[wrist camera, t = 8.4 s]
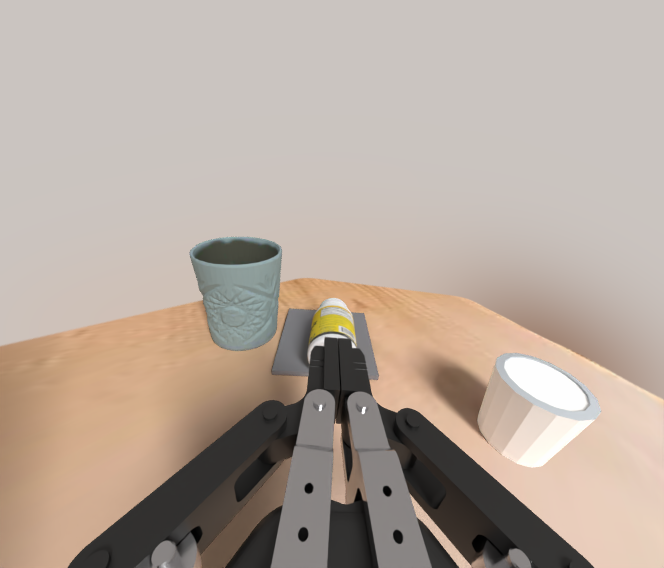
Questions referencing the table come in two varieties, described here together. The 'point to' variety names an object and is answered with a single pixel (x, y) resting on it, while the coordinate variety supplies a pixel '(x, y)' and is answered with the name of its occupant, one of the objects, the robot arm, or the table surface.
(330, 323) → the supplement bottle
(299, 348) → the mat
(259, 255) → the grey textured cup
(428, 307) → the table surface
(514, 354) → the shot glass
